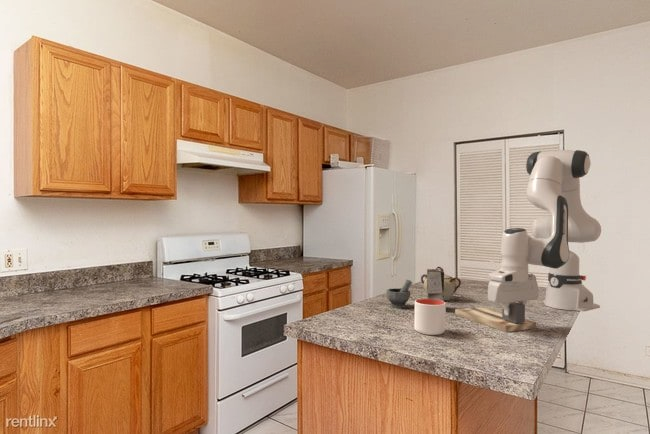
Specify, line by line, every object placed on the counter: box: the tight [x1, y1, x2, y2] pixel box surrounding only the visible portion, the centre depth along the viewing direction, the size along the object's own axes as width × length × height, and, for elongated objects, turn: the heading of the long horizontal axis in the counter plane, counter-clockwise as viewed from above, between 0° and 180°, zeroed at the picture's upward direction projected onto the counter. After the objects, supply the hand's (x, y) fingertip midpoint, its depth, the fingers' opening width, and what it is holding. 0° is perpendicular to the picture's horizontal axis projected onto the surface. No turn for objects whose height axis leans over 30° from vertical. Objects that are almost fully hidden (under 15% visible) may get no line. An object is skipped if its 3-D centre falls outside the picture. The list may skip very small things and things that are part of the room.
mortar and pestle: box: [386, 279, 413, 309], centre depth 168 cm, size 11×9×12 cm
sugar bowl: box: [420, 266, 462, 301], centre depth 186 cm, size 20×15×15 cm
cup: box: [414, 298, 447, 336], centre depth 133 cm, size 10×10×10 cm
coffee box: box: [426, 268, 445, 302], centre depth 166 cm, size 9×6×16 cm
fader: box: [501, 302, 526, 323], centre depth 140 cm, size 4×6×6 cm, turn 22°
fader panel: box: [454, 306, 537, 333], centre depth 148 cm, size 14×25×2 cm, turn 22°
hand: (513, 314), depth 140 cm, fingers closed on fader, 4 cm apart
